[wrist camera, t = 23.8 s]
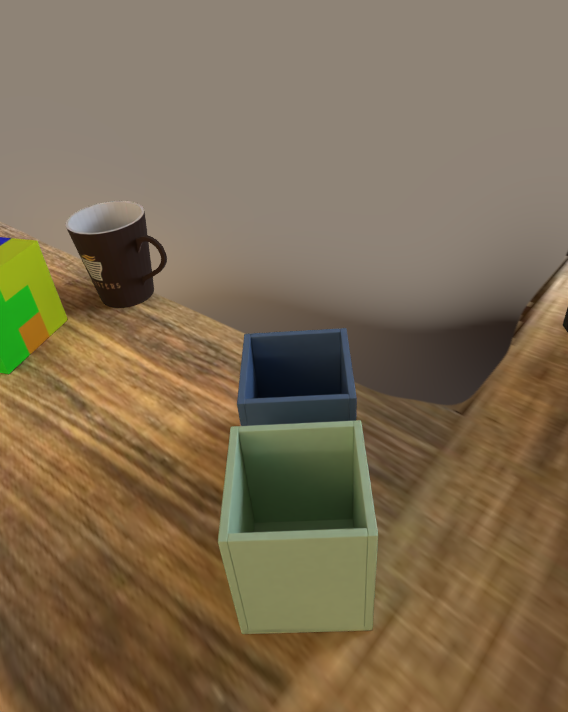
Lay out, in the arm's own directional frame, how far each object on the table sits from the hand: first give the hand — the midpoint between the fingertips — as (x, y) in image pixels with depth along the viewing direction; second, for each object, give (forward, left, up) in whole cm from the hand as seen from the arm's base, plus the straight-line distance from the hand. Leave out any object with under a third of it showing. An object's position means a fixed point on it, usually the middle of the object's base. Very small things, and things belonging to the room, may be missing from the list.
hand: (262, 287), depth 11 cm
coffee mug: (+20, -46, -28) cm, 57 cm away
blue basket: (0, -21, -28) cm, 35 cm away
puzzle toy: (+33, -39, -28) cm, 58 cm away
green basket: (0, -10, -28) cm, 30 cm away
